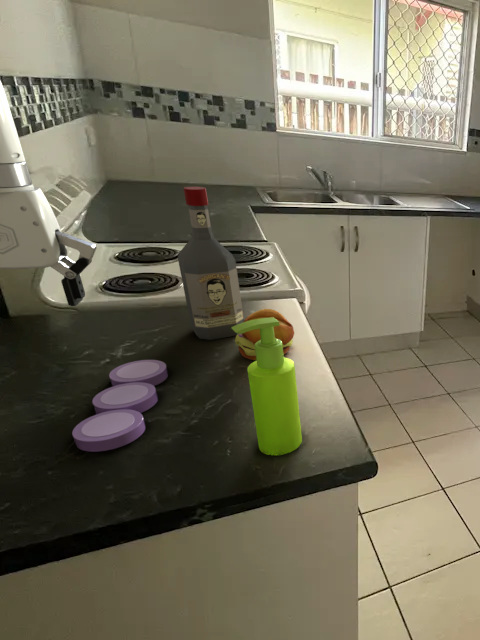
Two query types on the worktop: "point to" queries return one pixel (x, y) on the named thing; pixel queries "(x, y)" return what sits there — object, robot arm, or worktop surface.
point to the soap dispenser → (273, 391)
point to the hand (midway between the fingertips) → (32, 304)
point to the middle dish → (126, 398)
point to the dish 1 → (108, 430)
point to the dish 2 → (139, 372)
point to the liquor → (208, 275)
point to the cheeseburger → (251, 337)
